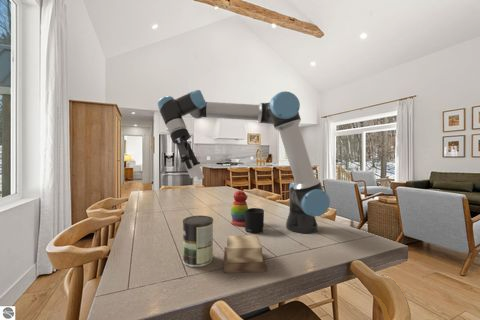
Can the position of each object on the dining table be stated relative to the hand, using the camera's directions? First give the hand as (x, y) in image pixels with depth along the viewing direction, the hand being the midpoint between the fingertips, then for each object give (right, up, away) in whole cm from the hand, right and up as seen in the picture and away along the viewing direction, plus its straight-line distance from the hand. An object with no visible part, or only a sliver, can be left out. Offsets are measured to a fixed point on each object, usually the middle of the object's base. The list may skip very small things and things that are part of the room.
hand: (198, 178), depth 88 cm
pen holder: (+24, -27, +17) cm, 40 cm away
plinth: (+18, -27, -15) cm, 36 cm away
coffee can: (+3, -27, -13) cm, 31 cm away
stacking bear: (+17, -27, +29) cm, 43 cm away
